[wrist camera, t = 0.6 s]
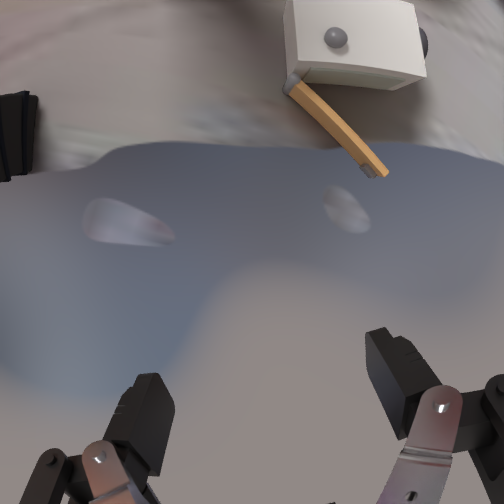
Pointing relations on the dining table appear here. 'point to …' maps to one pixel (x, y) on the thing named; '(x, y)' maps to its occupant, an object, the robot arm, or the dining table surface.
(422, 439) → the robot arm
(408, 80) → the camera body
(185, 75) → the dining table surface
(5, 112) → the black ridged block
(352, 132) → the tan wooden plank
